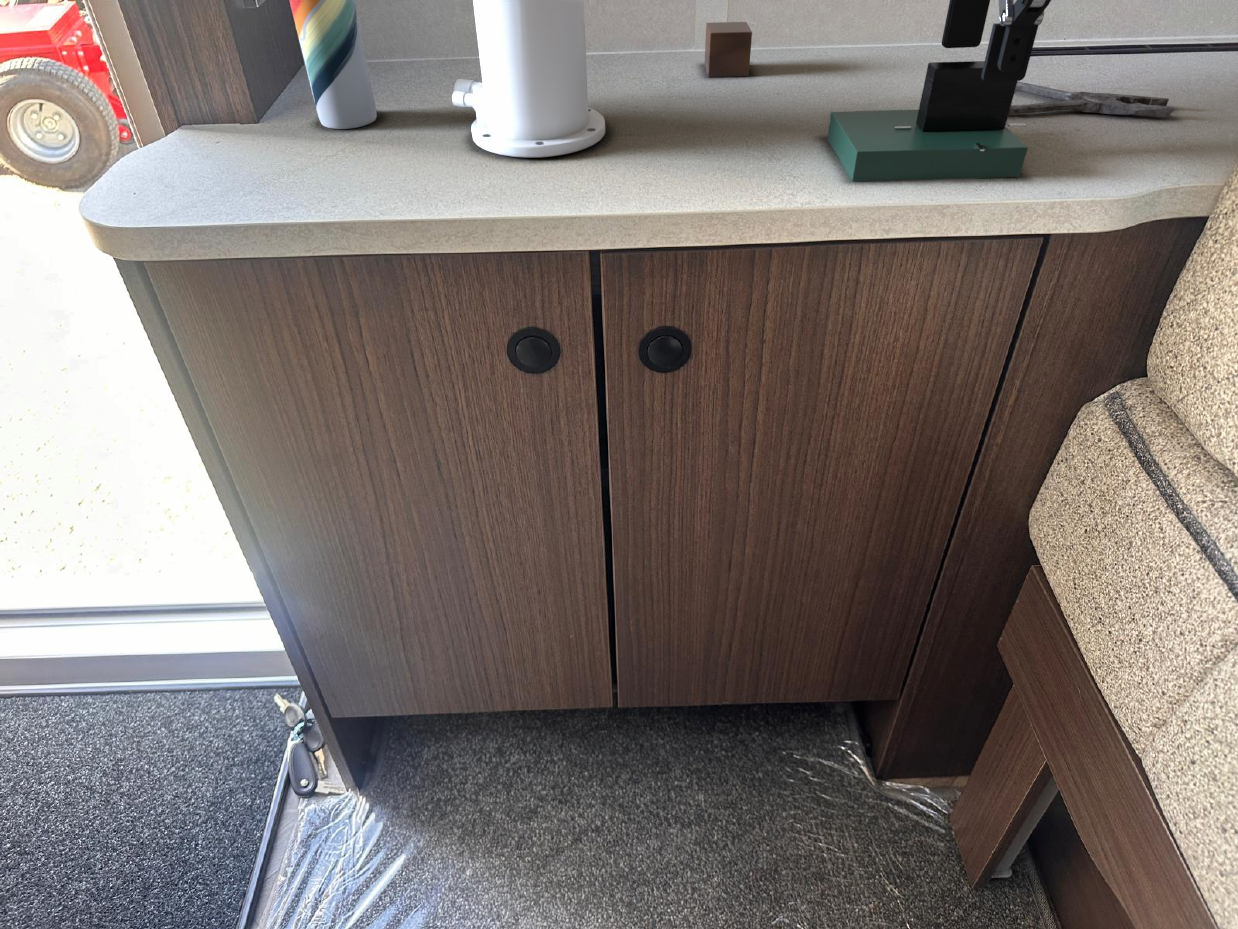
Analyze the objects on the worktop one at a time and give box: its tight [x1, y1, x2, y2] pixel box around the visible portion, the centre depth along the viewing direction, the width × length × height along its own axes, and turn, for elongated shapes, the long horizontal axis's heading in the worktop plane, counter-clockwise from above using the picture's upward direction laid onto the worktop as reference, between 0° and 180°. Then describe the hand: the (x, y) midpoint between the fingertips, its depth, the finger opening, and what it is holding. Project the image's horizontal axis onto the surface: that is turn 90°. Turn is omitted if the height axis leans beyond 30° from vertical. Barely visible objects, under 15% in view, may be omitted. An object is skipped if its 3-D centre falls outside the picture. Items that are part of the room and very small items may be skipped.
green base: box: [826, 109, 1029, 182], centre depth 72 cm, size 16×11×3 cm
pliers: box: [1008, 81, 1174, 118], centre depth 84 cm, size 10×1×20 cm
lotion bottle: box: [289, 0, 378, 130], centre depth 77 cm, size 6×6×20 cm
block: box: [703, 21, 753, 78], centre depth 93 cm, size 4×4×4 cm
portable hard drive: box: [916, 60, 1017, 132], centre depth 70 cm, size 7×2×5 cm, turn 91°
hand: (979, 62), depth 68 cm, fingers open, 9 cm apart
